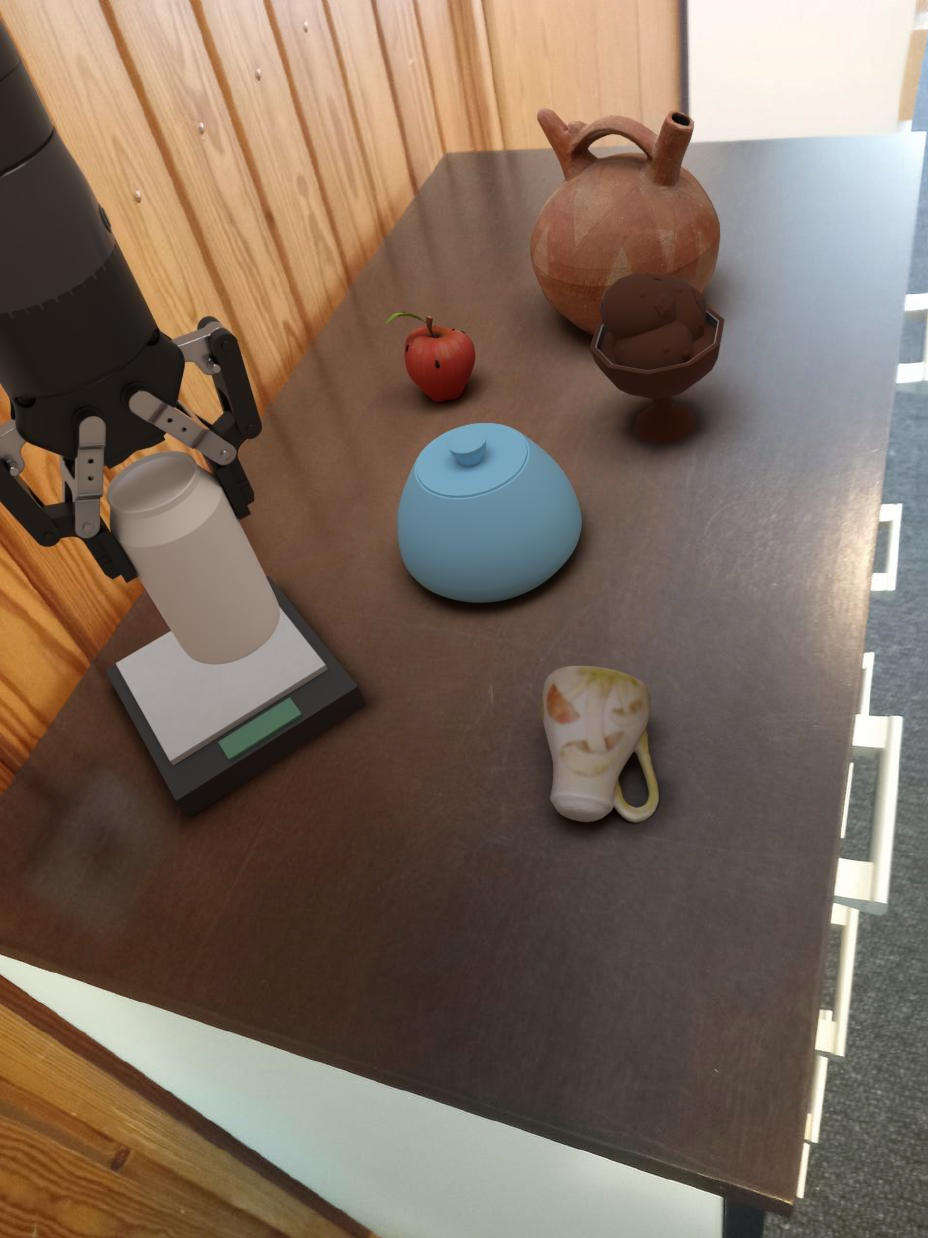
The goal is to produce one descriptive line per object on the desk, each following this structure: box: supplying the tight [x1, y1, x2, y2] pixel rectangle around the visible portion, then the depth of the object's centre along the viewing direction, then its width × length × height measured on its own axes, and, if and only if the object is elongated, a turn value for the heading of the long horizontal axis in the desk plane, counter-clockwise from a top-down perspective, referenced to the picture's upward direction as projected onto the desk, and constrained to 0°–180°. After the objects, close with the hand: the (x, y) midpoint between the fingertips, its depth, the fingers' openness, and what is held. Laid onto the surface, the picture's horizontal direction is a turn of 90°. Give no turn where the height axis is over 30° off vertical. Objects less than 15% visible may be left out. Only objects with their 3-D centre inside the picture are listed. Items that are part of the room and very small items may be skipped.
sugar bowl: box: [396, 422, 583, 604], centre depth 81 cm, size 15×15×12 cm
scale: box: [105, 575, 367, 819], centre depth 79 cm, size 15×16×3 cm
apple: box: [381, 311, 477, 403], centre depth 99 cm, size 8×7×10 cm
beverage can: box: [105, 450, 280, 665], centre depth 57 cm, size 6×6×12 cm
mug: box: [540, 665, 660, 824], centre depth 67 cm, size 8×10×10 cm
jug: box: [529, 107, 721, 337], centre depth 98 cm, size 18×18×20 cm
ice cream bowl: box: [589, 273, 725, 445], centre depth 86 cm, size 11×11×15 cm
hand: (183, 540), depth 56 cm, fingers closed on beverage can, 6 cm apart
